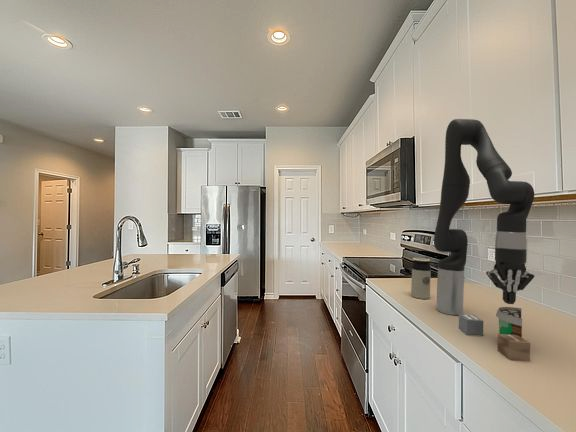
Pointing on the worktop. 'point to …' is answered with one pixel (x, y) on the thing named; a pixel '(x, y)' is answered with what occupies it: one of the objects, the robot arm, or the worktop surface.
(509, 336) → the walnut block
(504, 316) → the food container
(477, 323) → the slate block
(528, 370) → the worktop surface
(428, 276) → the travel mug
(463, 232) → the robot arm
